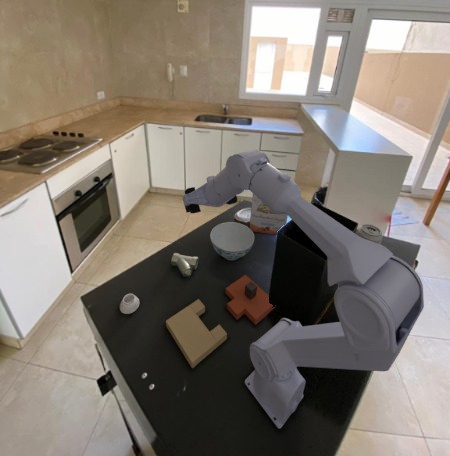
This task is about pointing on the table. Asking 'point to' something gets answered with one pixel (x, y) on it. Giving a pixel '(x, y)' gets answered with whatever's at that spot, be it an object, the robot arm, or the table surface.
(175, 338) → the sand pad
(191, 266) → the pipe fitting
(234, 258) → the chinaware
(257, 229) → the cracker box
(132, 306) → the white jar
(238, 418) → the table surface
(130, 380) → the table surface
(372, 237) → the can
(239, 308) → the terracotta pad
